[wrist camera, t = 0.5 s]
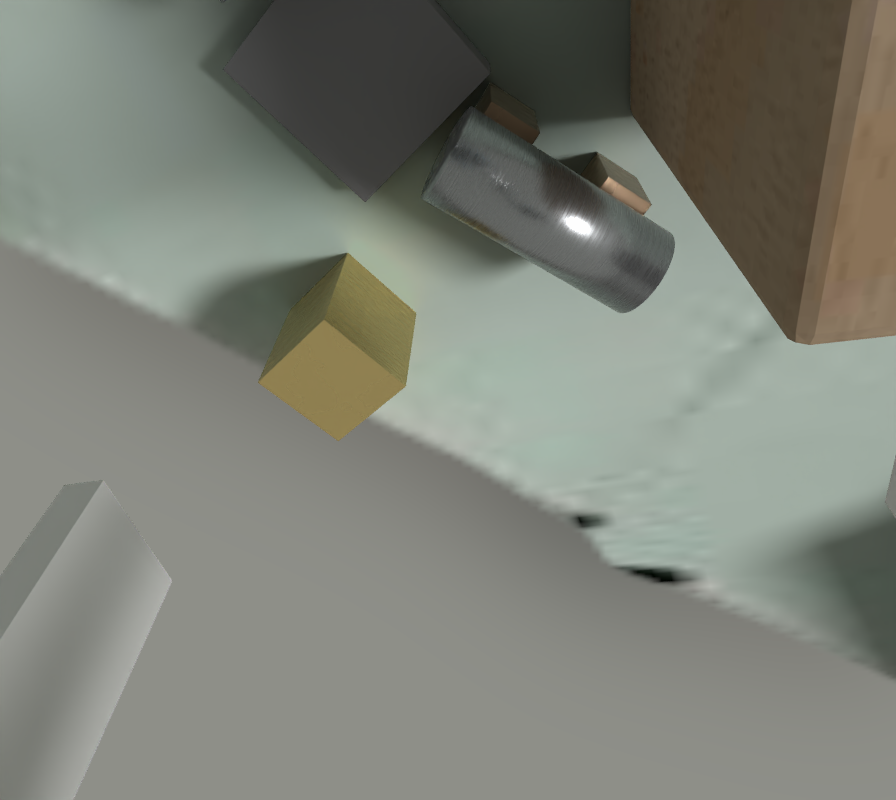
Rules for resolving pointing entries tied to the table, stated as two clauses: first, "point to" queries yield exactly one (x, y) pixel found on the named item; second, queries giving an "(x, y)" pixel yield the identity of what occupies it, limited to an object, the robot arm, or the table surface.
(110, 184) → the table surface
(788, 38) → the wooden block
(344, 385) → the tan rectangular block
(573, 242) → the shaft
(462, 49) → the dark grey block
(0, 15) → the table surface
